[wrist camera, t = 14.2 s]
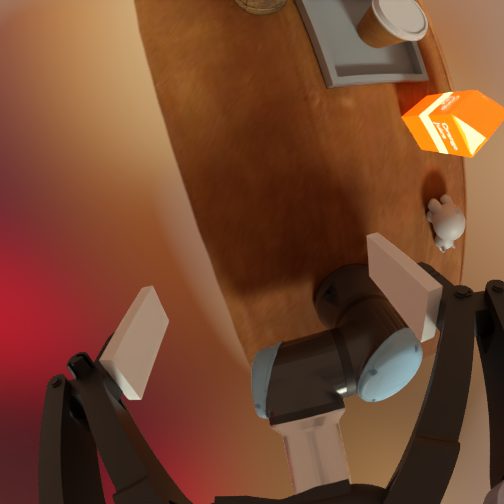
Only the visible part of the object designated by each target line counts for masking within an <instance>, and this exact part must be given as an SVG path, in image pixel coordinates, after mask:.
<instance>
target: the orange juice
mask: <svg viewBox="0 0 504 504" xmlns="http://www.w3.org/2000/svg"><path fill="white" fill-rule="evenodd" d="M402 119H403V120H404V122H405V123H406V125H407V127H408V128H409V130H410V131H411V133H412V135H413V136H414V138H415V140H416V141H417V143H418V145H419V146H420V148H421V149H422V150H429V151H436V152H440V153H446V154H454V155H460V156H465V157H470V158H472V157H473V156H474V155H475V153H476V152H477V151H478V150H479V149H480V148H481V147H482V146H483V144H484V143H485V142H486V141H487V140H488V138H489V137H490V136H491V135H492V134H493V133H494V131H495V130H496V129H497V128H498V126H499V125H500V124H501V123H502V121H503V120H504V108H503V107H501V106H500V105H499V104H497V103H496V102H494V101H493V100H491V99H490V98H488V97H486V96H485V95H483V94H482V93H480V92H478V91H477V90H473V91H461V92H449V93H443V94H435V95H429V96H426V97H425V98H423V99H422V100H421V101H420V102H419V103H417V104H416V105H415V106H414V107H413V108H411V109H410V110H409V111H408V112H407V113H405V114H404V115H403V116H402Z"/></svg>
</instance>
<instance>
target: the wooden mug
mask: <svg viewBox="0 0 504 504" xmlns="http://www.w3.org/2000/svg"><path fill="white" fill-rule="evenodd" d="M235 1H236V3H237V4H238V5H239V6H240V7H241V8H242V9H244V10H245V11H247V12H248V13H252V14H256V15H266V14H271V13H275V12H277V11H279V10H280V9H282V8H283V7H284V5H285V3H286V0H235Z"/></svg>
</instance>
